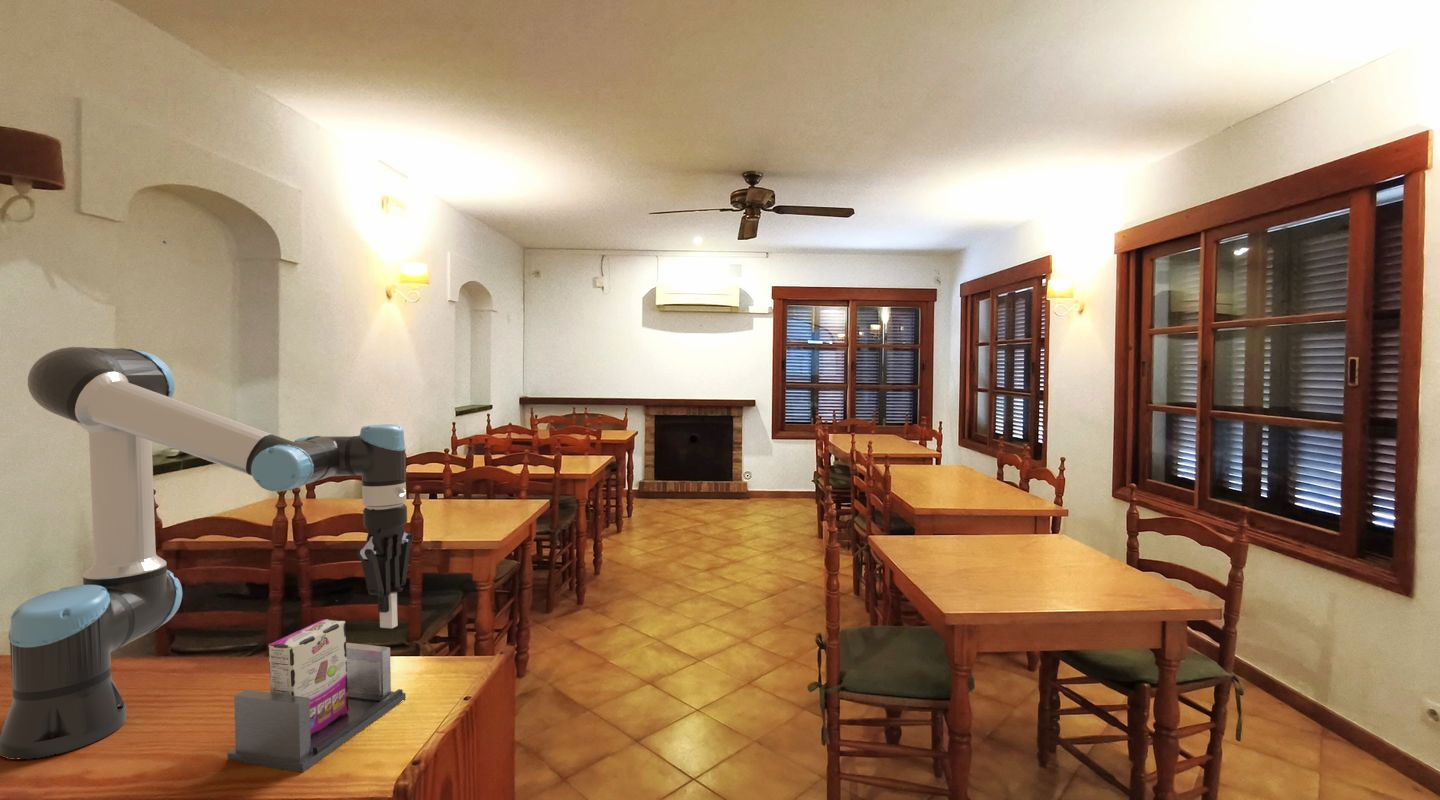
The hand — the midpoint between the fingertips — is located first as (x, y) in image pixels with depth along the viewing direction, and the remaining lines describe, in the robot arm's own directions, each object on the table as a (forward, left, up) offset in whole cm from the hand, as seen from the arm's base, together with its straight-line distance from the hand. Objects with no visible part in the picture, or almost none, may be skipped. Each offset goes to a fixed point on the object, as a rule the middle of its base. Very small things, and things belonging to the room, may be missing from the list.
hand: (388, 626), depth 128 cm
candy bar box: (-1, -18, -11) cm, 21 cm away
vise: (0, -16, -12) cm, 19 cm away
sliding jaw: (0, -4, -10) cm, 11 cm away
